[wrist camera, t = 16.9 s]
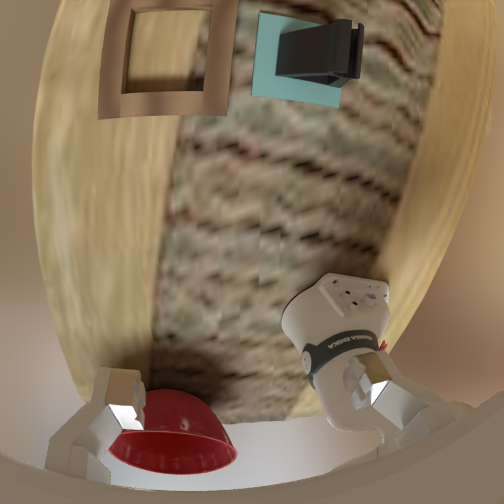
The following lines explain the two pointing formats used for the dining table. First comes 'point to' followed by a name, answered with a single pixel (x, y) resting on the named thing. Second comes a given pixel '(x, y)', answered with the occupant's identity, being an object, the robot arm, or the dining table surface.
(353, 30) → the dark gray a-frame stand
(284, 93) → the teal mat
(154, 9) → the walnut holder
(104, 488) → the robot arm
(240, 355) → the dining table surface
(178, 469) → the mixing bowl
